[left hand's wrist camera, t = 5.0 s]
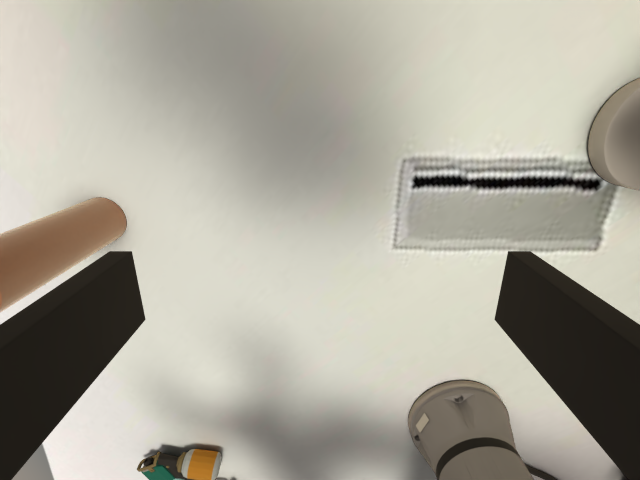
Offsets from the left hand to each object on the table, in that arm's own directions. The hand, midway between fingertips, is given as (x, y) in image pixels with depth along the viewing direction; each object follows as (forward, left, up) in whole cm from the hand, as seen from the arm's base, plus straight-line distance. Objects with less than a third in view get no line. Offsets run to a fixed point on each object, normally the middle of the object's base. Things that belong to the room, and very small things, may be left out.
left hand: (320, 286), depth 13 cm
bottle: (+7, -28, -32) cm, 43 cm away
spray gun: (+54, -21, -32) cm, 66 cm away
